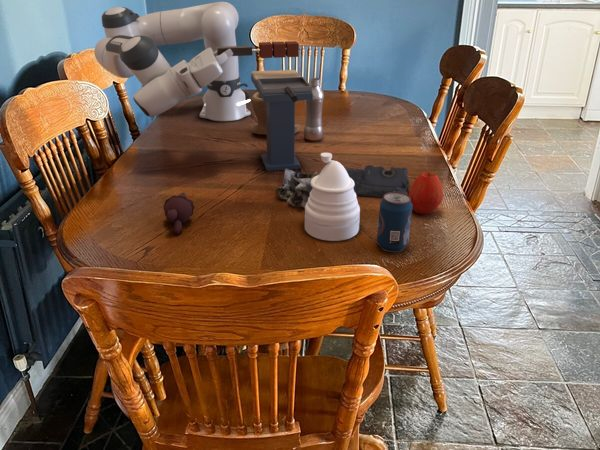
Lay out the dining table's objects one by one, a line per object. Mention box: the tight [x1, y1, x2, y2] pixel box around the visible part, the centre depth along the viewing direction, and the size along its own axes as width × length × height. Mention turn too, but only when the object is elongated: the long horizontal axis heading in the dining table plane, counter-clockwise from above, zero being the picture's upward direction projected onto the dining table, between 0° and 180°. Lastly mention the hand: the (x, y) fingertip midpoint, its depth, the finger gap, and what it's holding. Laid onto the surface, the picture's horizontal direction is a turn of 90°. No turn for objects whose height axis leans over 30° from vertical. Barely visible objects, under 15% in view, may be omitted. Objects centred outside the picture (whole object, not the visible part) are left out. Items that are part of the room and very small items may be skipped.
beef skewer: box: [217, 40, 301, 59], centre depth 157 cm, size 4×23×4 cm, turn 103°
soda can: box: [376, 192, 413, 253], centre depth 124 cm, size 7×7×12 cm
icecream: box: [162, 192, 195, 235], centre depth 135 cm, size 7×7×15 cm
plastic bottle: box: [303, 77, 325, 141], centre depth 184 cm, size 6×7×20 cm
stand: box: [250, 73, 313, 172], centre depth 164 cm, size 24×13×24 cm, turn 12°
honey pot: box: [304, 152, 361, 242], centre depth 130 cm, size 13×13×18 cm
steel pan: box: [257, 76, 312, 103], centre depth 150 cm, size 20×13×2 cm, turn 12°
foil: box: [275, 169, 319, 208], centre depth 147 cm, size 12×11×15 cm
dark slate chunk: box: [345, 164, 410, 198], centre depth 156 cm, size 15×22×5 cm
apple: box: [408, 171, 444, 216], centre depth 140 cm, size 8×8×11 cm
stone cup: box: [251, 91, 301, 136], centre depth 189 cm, size 15×12×15 cm
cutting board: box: [251, 69, 302, 83], centre depth 164 cm, size 10×13×1 cm
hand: (231, 49), depth 155 cm, fingers closed on beef skewer, 2 cm apart
